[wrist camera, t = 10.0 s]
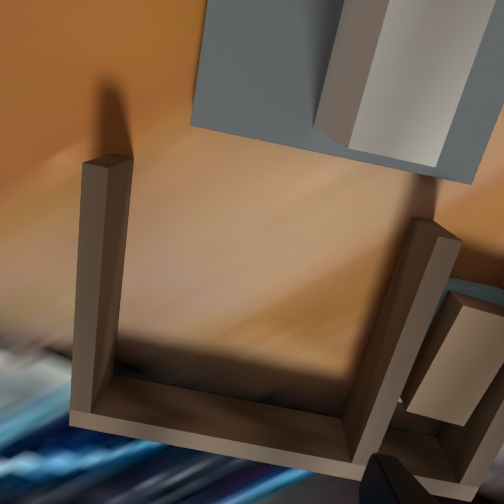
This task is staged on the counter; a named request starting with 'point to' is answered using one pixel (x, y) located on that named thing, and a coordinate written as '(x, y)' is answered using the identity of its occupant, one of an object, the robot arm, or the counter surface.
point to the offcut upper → (456, 359)
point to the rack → (263, 415)
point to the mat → (321, 82)
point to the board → (399, 74)
